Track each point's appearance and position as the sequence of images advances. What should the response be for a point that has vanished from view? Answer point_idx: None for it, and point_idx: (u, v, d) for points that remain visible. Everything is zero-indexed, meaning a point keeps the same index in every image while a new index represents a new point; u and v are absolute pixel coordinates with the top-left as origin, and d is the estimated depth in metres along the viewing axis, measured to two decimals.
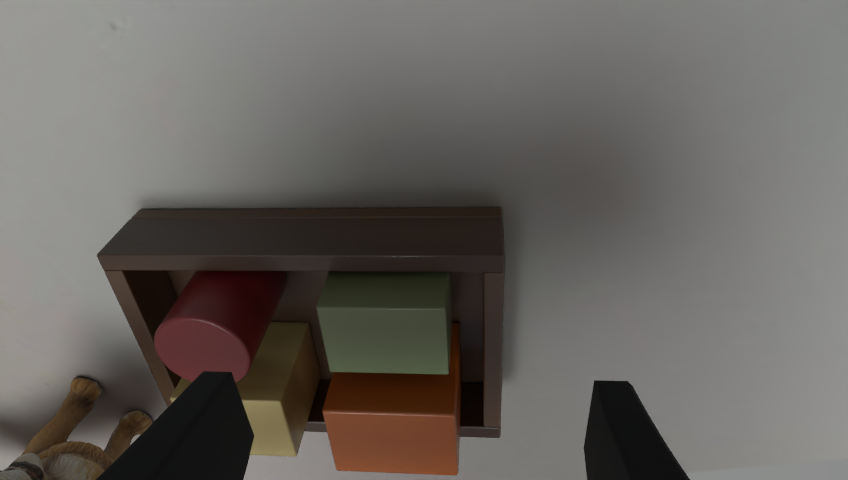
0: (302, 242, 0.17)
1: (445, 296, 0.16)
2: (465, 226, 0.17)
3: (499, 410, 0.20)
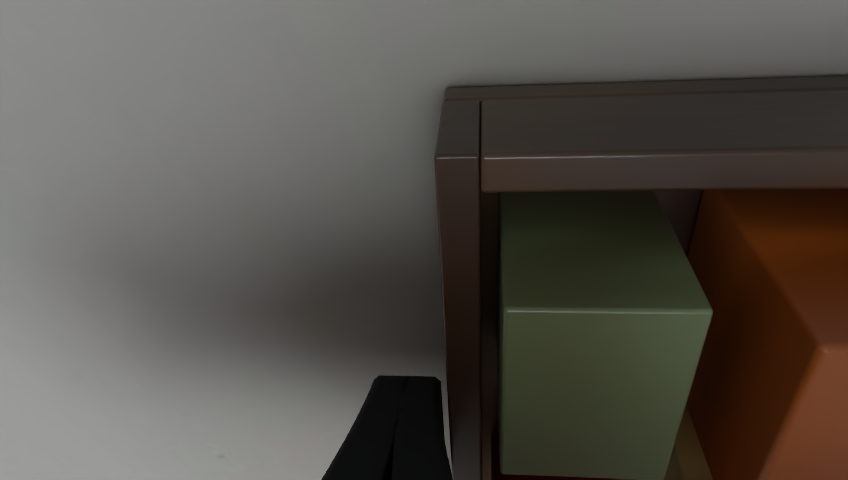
0: None
1: (503, 285, 0.08)
2: None
3: None
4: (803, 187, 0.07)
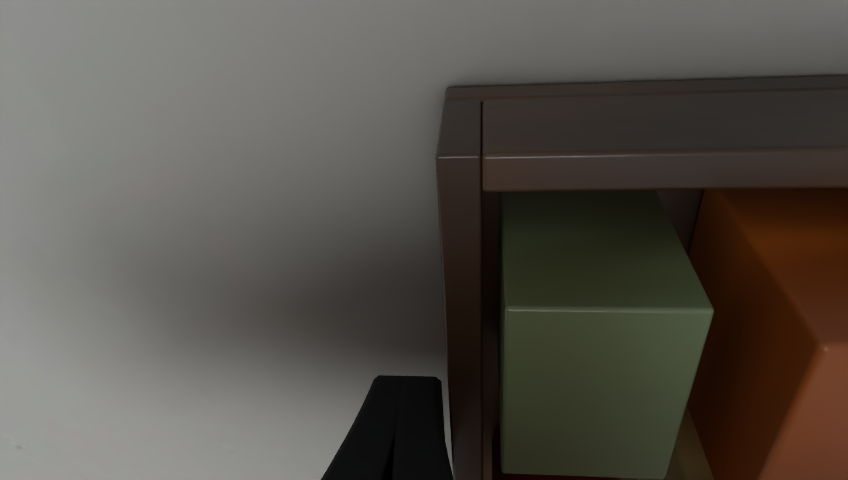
0: None
1: (504, 284, 0.08)
2: None
3: None
4: (804, 186, 0.07)
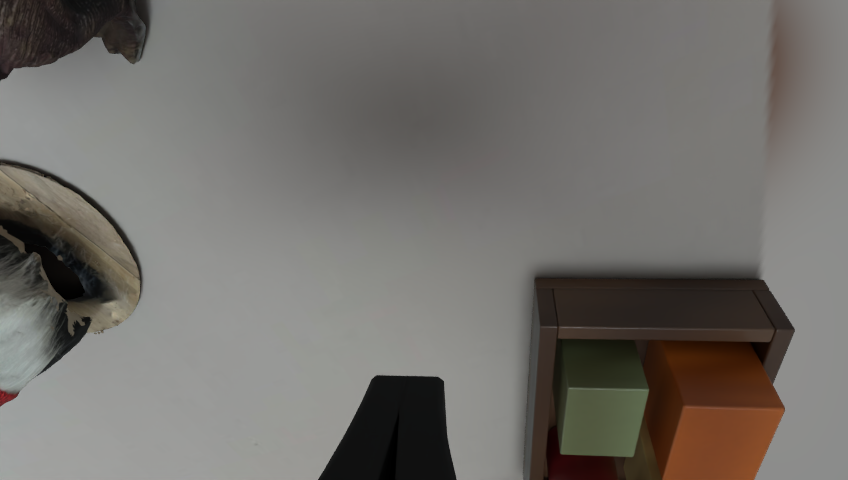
0: (530, 424, 0.23)
1: (566, 376, 0.19)
2: (535, 321, 0.21)
3: (745, 330, 0.18)
4: (685, 340, 0.19)
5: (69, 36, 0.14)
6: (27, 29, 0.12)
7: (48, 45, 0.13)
